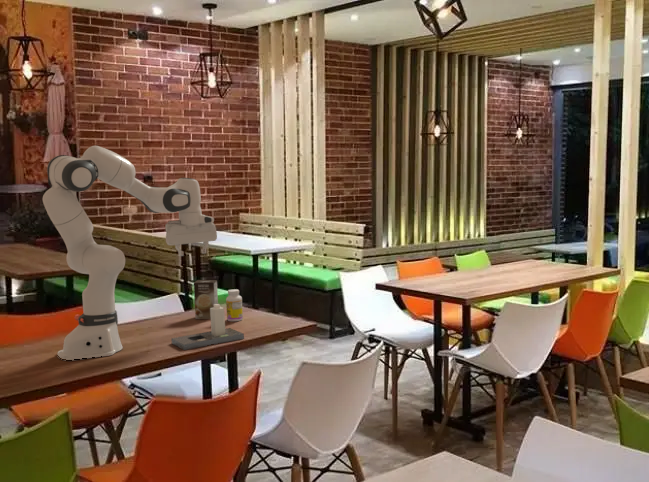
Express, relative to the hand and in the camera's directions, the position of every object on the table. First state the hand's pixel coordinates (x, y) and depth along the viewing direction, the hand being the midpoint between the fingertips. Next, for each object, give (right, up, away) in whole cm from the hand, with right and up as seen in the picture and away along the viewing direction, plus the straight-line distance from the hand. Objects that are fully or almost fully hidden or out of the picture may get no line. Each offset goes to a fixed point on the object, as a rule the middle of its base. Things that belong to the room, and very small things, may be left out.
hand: (192, 254), depth 277 cm
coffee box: (+1, -28, +30) cm, 41 cm away
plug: (+12, -32, -9) cm, 35 cm away
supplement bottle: (+14, -28, +23) cm, 39 cm away
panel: (+8, -32, -11) cm, 35 cm away
